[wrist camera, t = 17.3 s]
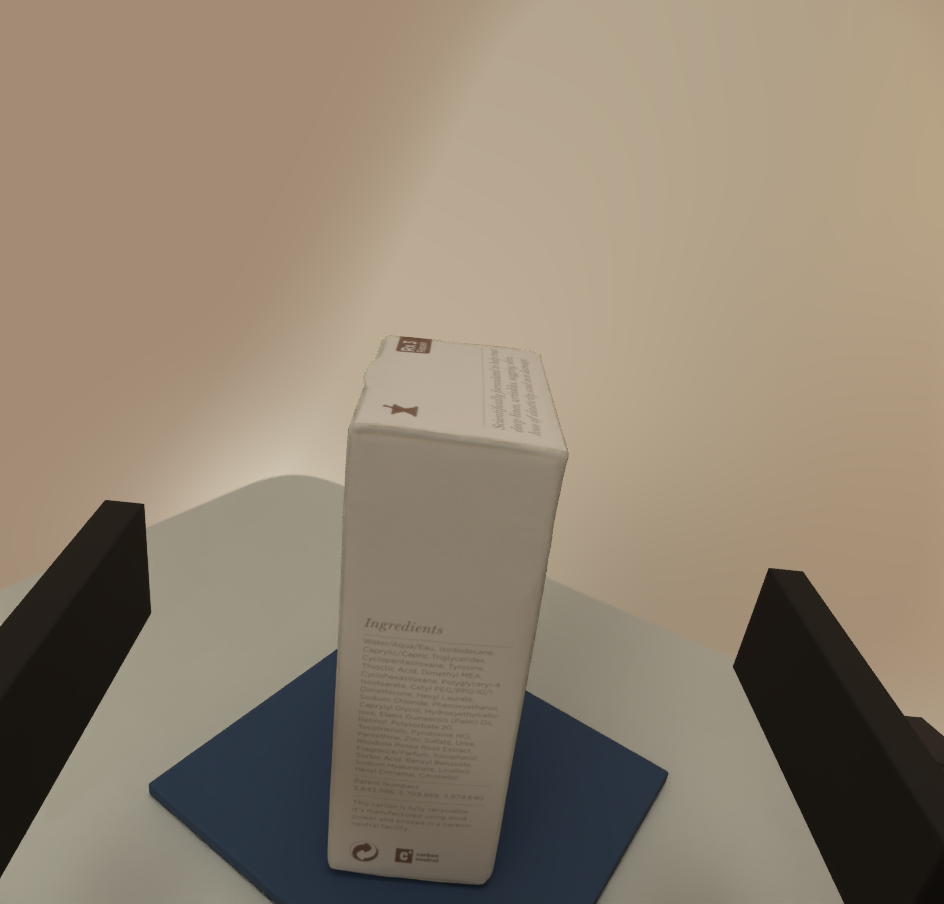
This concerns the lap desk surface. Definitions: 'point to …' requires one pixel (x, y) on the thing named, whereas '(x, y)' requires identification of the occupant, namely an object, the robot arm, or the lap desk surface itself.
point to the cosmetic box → (438, 603)
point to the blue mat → (393, 898)
